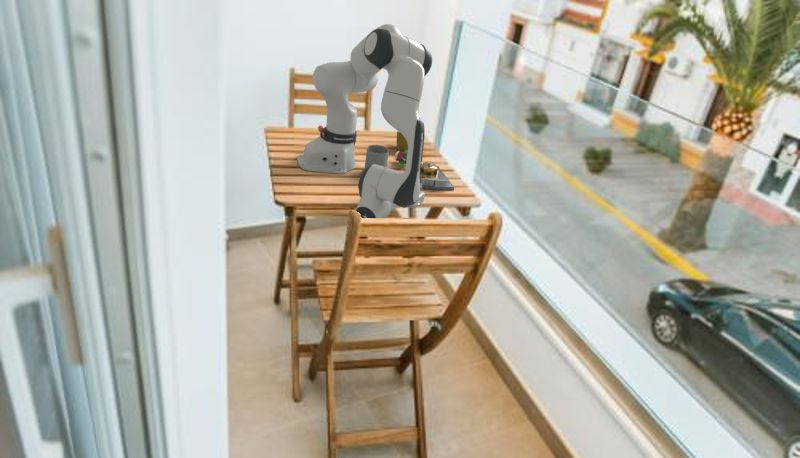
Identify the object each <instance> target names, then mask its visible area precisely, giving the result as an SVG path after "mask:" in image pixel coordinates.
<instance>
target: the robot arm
mask: <svg viewBox="0 0 800 458" xmlns="http://www.w3.org/2000/svg"><path fill="white" fill-rule="evenodd" d="M432 65H433V55H432V52H431V50H430V49H429V48H428V47H426V46H425V45H423V44H421V43H418V42H417V41H415V40H413V39H411V38H409V37H407V36H403V35H402V32H401V31H400V29H399V28H398V27H396V26H395V25H393V24H389V23H386V24H383V25H380V26H378V27H377V28H375V29H373V30H372V31H371V32H369V33H368V34H367V35H366V36H365V37H363V39H362V40H361V41H360V42H358V44H356V46H354V47H353V48H352V50H351V52H350V60H347V61H336V62H335V61H334V62H331V61H330V62H327V63H323V64H319V65H318V66H316V67H315V68H314V71H313V73H312V83H313V86H314V88H315V89H316V91H317V92H318V93H319V94H320V95H321V96H322V97H323V99H324V101H325V104H326V126H324V127H323V126H322V125H321V124H320V125H318V126H317V130H318V132H319V134H320V135H319V136H318V137H316V138H315V139H313V140H311V141H309V142H308V143H306V145H305V148H304V150H303V152H302V153H299V154H298V155H297V158H296V160H297V165H298V166H299V168H300V169H302V170H304V171H306V172H307V171H308V172H316V173H317V172H319V173H327V174H328V173H329V174H340V175H344V174H347V172H349V171H351V170H352V171H353V169H355V168H356V167H357V163H356V159H355V158H356V156H355V145H356V142H357V137H358V136H357V135H358V134H357V120H358V110H357V108H356V107H355V106H354V105H353V104H352V103H351V102H349V95H350V94H358V93H365V92H368V91H371V90H374V89H375V88H376V86H377V84H378V81H379V72H380V71H381V70H386V72H387V73H388V77H387V81H386V82H385V83H386V85H385V88H384V91H383V95H382V99H381V103H380V111H381V115H382V116H383V118H384V120H385V121H386V122H387V123H388V124H389V125H390V126H391V127H392V128H394V129H395V130H396V131H399V132H400V133H401V134H402V135H403V136H404V137H405V138H406V140H407V143H408V152H407V161H406V165H405V171H404V172H403V171H399V170H395V169H392V168H389V167H388V166H387V167H383V166H380V165H376V164H372V165H370V166H368V167H367V168H366V169H365V170H364V169H363V171H362V172H361V174H360V176H359V178H358V193H359V194H358V195H359V198H360V199H359V202H358V204H357V206H356V207H355V211H357V212H359V213H360V214H361V217H362V218H385V219H386V218H387V217H388V216H389V214H391V213H392V212H393V211H394V210H395V209H396V208H398V207H400V208H403V209H404V208H405V209H406V208H412V209H413V208H417V207H419V206H420V205H421V204H423V203H424V201H425V197H426V196H425V193H424V191H422V190H421V191H420V177H421V165H422V163H423V155H424V154H423V153H424V144H425V133H426V132H425V123H424V121H423V120H422V119H421V117H420V113H419V112H420V111H419V110H420V109H419V108H420V103H421V100H422V99H421V97H422V94H423V90H424V89H423V88H424V84H425V83H424V81H425V77H426V76H427V75H428V73H429V72H430V71H431V68H432ZM355 211H354V212H355Z"/></svg>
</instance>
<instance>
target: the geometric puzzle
mask: <svg viewBox="0 0 800 458" xmlns="http://www.w3.org/2000/svg"><path fill="white" fill-rule="evenodd" d="M407 152H408V150H407V149H405V151H400V150H397V151H396V152H395V154H394V160H395V161H396V163H397V164H398V165H399V166H400V167H401V168H406V161H407Z"/></svg>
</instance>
